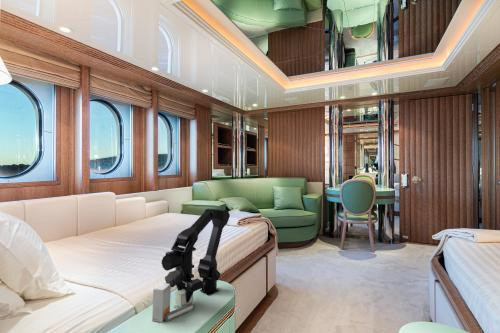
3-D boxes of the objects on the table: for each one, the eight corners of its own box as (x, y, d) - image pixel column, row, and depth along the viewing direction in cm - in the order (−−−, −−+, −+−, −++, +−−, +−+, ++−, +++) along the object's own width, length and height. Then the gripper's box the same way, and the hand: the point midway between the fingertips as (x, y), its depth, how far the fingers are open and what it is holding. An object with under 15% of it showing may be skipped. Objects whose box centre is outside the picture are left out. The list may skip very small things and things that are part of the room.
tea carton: (175, 303, 107) (175, 291, 107) (187, 298, 112) (187, 287, 112) (180, 307, 104) (181, 294, 105) (193, 302, 109) (193, 290, 109)
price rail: (191, 308, 106) (191, 302, 106) (193, 309, 105) (193, 303, 105) (165, 320, 97) (165, 313, 97) (167, 321, 96) (167, 315, 96)
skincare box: (162, 322, 96) (163, 290, 96) (151, 321, 97) (152, 289, 97) (170, 314, 102) (171, 283, 102) (160, 312, 103) (161, 282, 103)
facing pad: (187, 300, 112) (187, 300, 112) (194, 304, 109) (194, 304, 109) (173, 306, 107) (173, 306, 107) (180, 311, 104) (180, 310, 104)
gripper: (156, 262, 109) (155, 299, 108) (181, 274, 96) (180, 316, 96) (179, 256, 117) (178, 290, 117) (204, 266, 105) (204, 305, 104)
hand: (184, 300), depth 108 cm, fingers closed on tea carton, 4 cm apart
